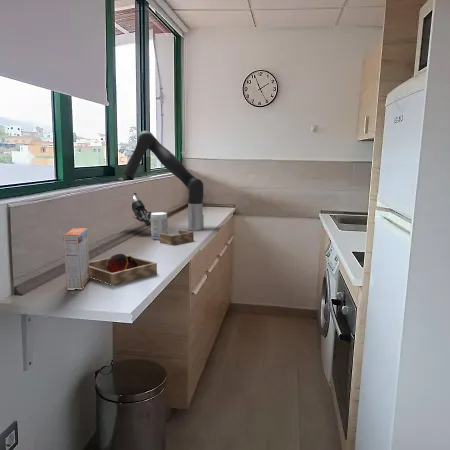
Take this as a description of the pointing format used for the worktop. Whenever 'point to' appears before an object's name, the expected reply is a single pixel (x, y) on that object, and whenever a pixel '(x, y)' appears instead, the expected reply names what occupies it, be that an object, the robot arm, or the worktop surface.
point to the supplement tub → (158, 224)
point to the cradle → (177, 237)
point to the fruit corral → (122, 276)
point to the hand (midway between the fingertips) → (149, 225)
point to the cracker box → (76, 257)
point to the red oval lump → (120, 263)
